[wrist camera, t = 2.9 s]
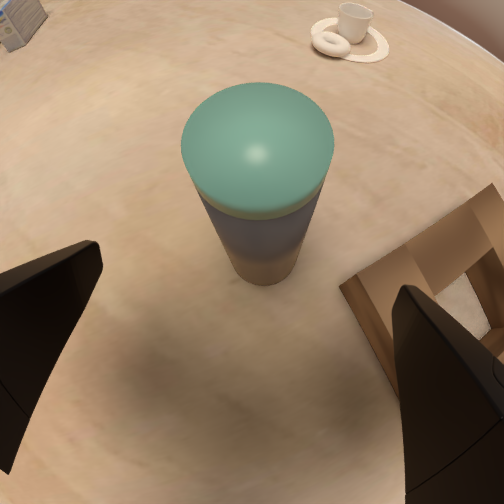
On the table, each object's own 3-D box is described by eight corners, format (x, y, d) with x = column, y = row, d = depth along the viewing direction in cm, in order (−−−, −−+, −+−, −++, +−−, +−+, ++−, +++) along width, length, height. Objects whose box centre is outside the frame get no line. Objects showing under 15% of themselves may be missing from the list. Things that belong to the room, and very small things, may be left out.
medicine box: (31, 24, 32) (11, -8, 23) (49, 16, 31) (29, -19, 23) (8, 53, 30) (-16, 20, 21) (26, 45, 29) (1, 9, 21)
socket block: (526, 338, 17) (560, 334, 13) (418, 440, 16) (447, 458, 12) (463, 205, 20) (492, 182, 16) (338, 286, 19) (356, 273, 15)
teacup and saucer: (321, 70, 24) (327, 35, 20) (291, 24, 26) (292, -7, 22) (402, 64, 24) (413, 35, 20) (365, 20, 26) (371, -7, 22)
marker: (308, 265, 19) (364, 163, 7) (249, 297, 19) (220, 234, 7) (276, 211, 20) (283, 67, 8) (219, 240, 20) (161, 118, 8)
